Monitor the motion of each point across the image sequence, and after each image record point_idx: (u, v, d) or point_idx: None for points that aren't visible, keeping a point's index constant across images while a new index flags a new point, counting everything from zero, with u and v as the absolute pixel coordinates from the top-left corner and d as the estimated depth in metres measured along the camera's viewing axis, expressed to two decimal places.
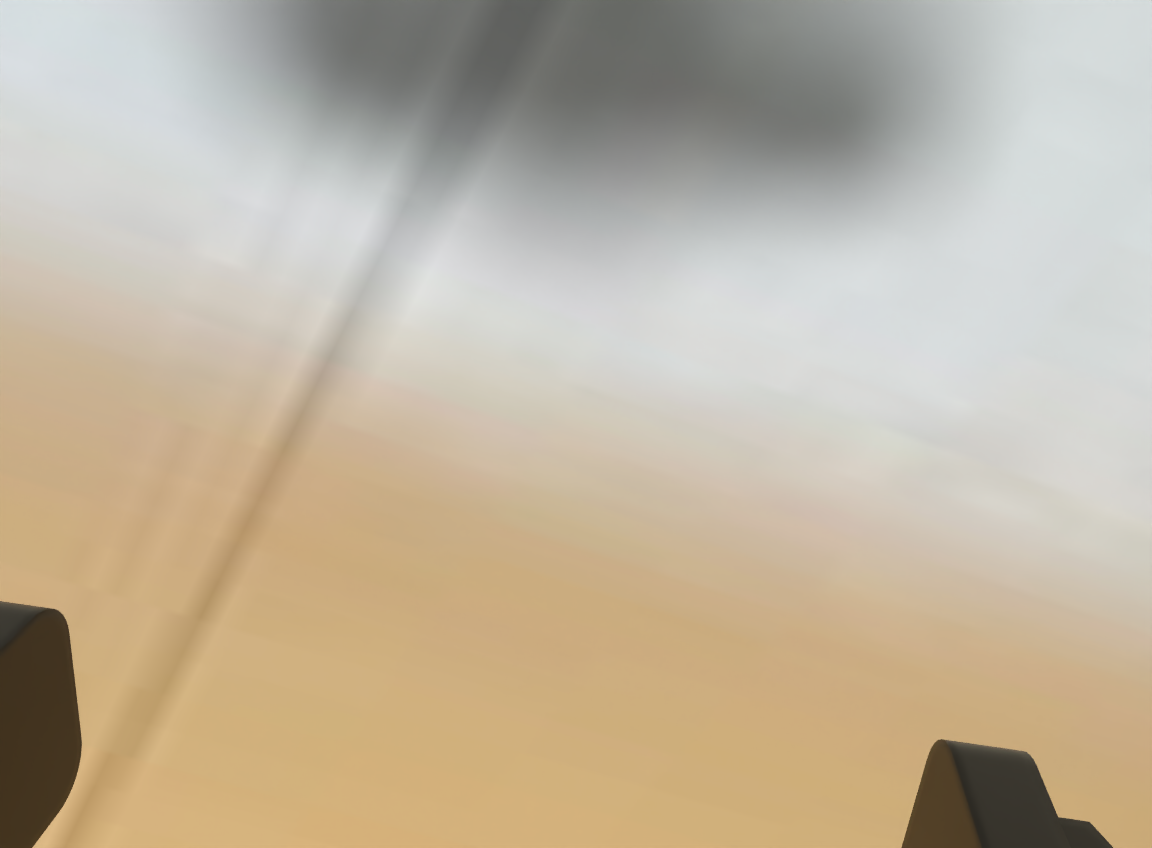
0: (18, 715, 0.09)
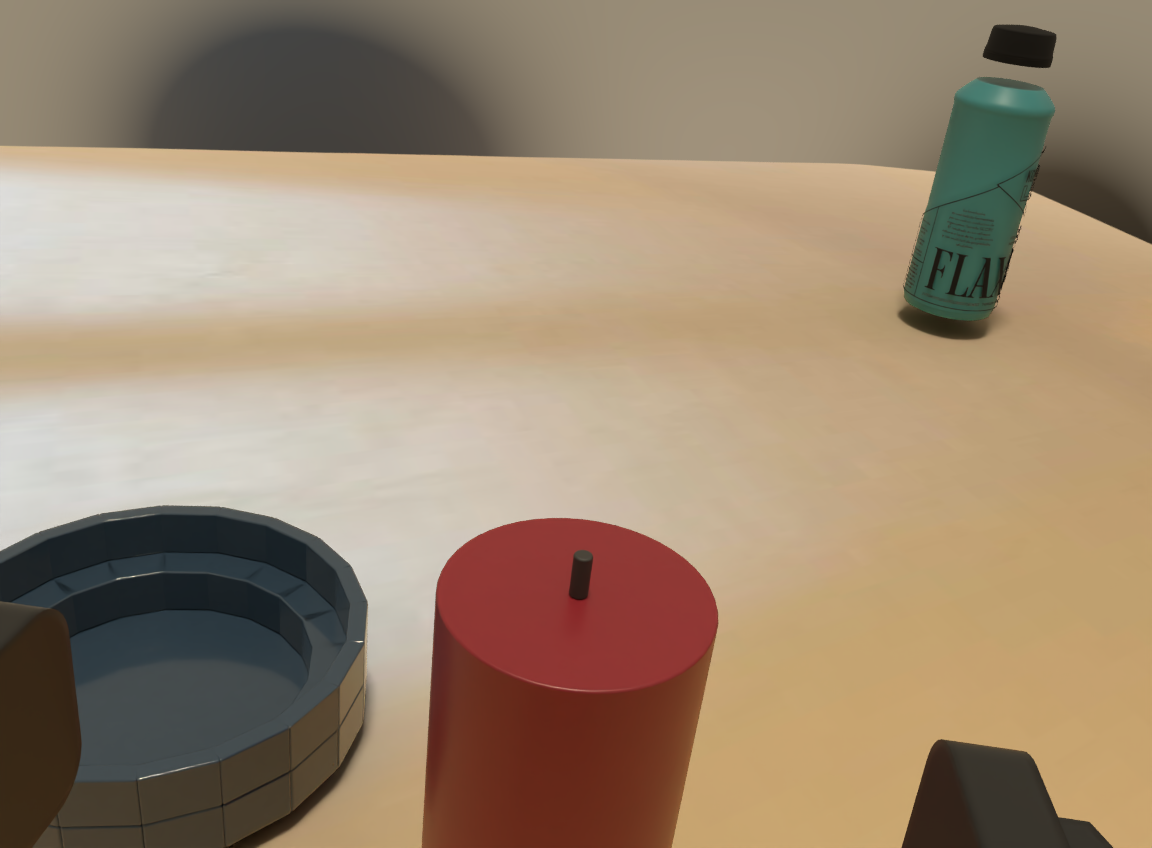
0: (18, 715, 0.09)
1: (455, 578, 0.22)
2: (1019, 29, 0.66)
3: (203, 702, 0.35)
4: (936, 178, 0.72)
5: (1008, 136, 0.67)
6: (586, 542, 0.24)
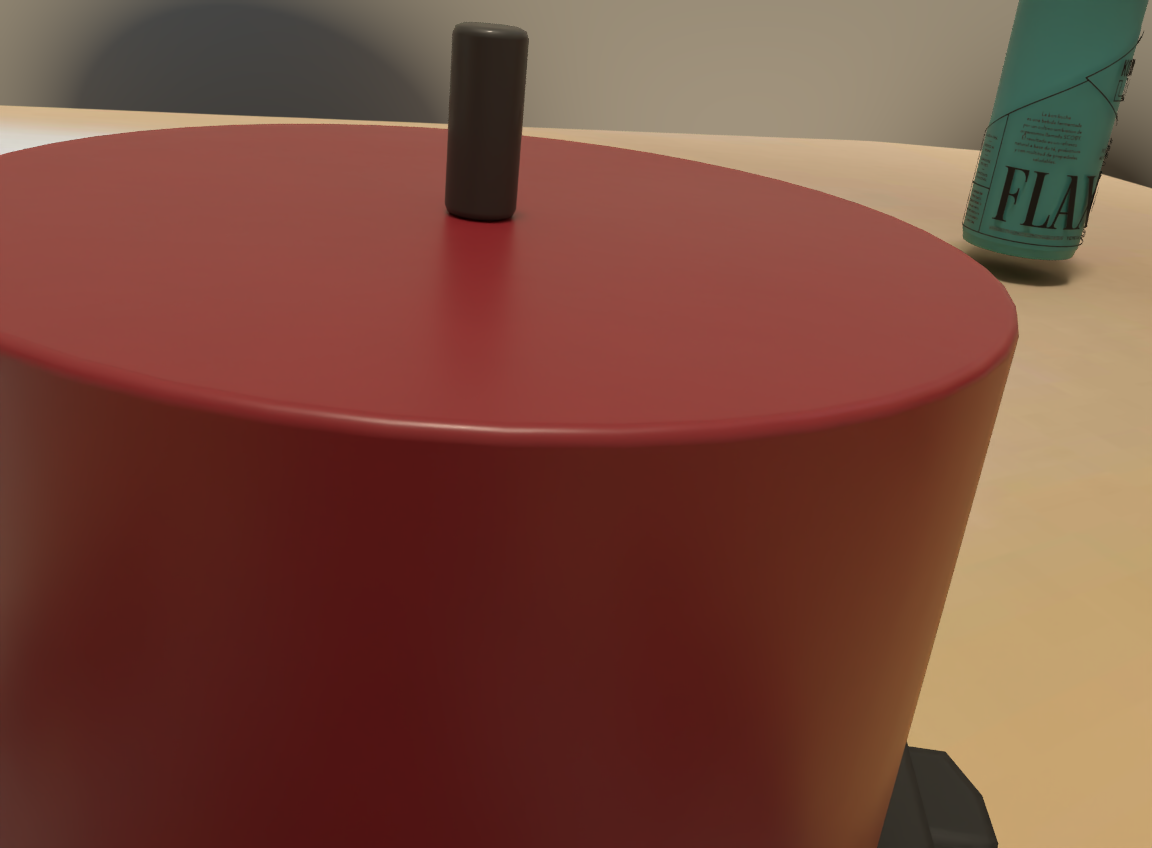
0: None
1: (31, 166, 0.06)
2: None
3: None
4: (1003, 81, 0.57)
5: (1099, 12, 0.52)
6: (523, 155, 0.08)
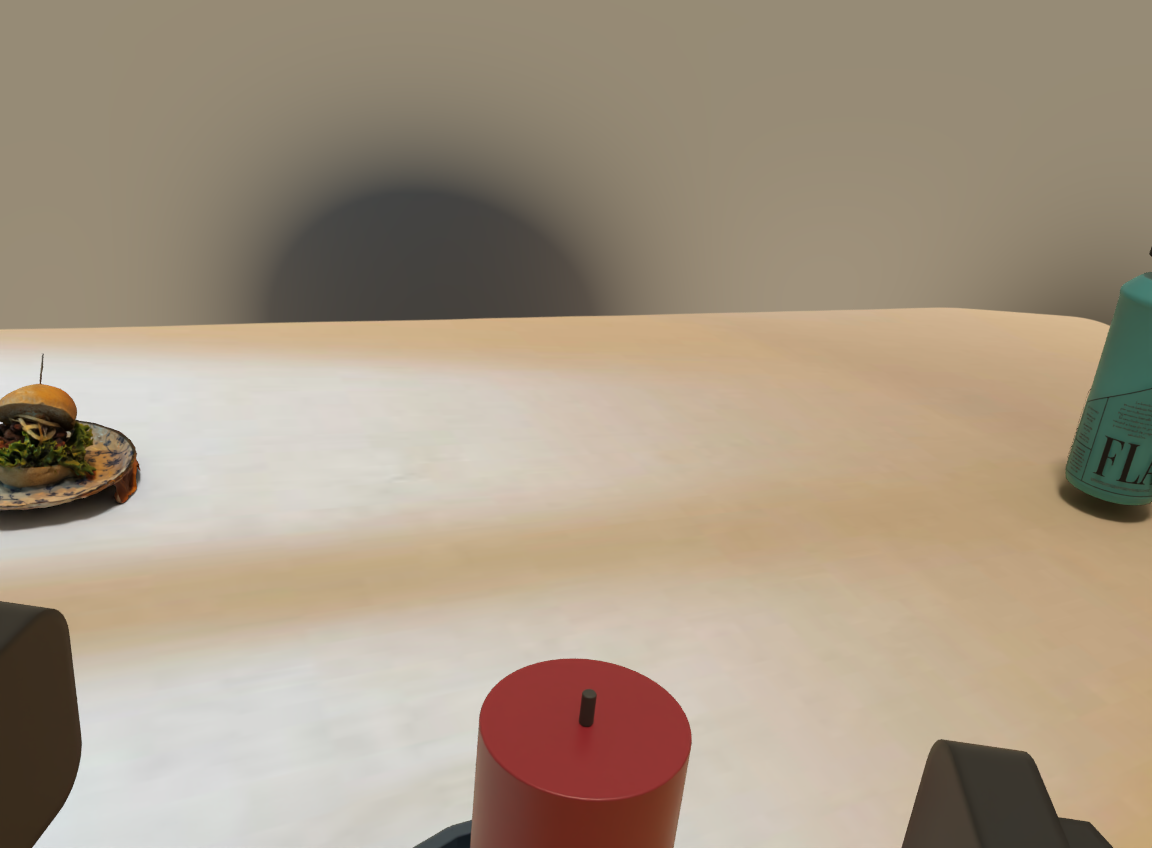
0: (19, 715, 0.09)
1: (493, 712, 0.29)
2: None
3: None
4: (1102, 368, 0.73)
5: None
6: (591, 678, 0.31)
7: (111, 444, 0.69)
